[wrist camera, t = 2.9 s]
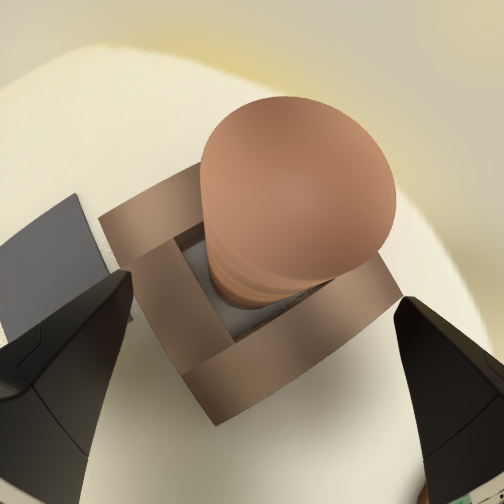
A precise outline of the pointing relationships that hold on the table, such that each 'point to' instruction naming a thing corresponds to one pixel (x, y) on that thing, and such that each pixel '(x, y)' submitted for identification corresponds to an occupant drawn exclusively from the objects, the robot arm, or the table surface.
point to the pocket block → (207, 320)
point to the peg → (290, 199)
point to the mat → (47, 267)
